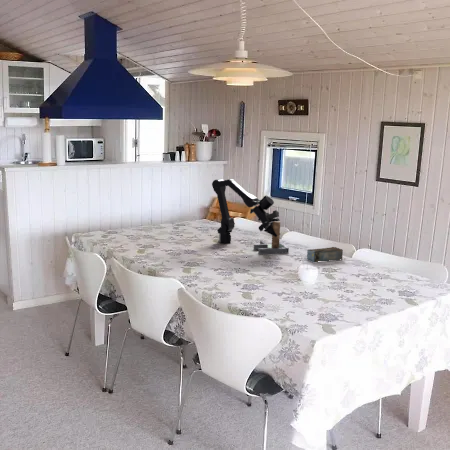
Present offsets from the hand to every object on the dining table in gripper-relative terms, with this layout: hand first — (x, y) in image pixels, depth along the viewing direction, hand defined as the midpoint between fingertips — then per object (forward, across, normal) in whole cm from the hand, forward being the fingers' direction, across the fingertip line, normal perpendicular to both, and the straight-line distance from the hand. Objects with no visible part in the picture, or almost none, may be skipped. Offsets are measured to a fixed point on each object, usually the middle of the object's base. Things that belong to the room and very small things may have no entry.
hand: (278, 235), depth 315 cm
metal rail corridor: (+2, +2, +12) cm, 12 cm away
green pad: (+1, +9, +12) cm, 15 cm away
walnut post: (+5, 0, +7) cm, 8 cm away
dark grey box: (+28, -2, -14) cm, 31 cm away
